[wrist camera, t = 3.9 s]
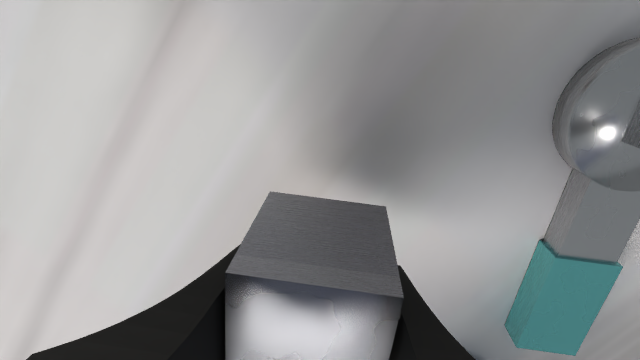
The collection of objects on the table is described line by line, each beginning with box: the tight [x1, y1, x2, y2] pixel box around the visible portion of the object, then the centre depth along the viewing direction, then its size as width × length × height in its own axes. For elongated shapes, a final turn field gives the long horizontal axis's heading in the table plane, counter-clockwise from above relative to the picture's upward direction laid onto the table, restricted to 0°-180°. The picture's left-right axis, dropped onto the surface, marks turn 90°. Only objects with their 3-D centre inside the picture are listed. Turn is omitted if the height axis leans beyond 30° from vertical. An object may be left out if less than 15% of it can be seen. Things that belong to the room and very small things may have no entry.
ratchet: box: [505, 38, 640, 356], centre depth 16 cm, size 16×6×4 cm, turn 174°
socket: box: [225, 192, 404, 360], centre depth 12 cm, size 4×4×5 cm
